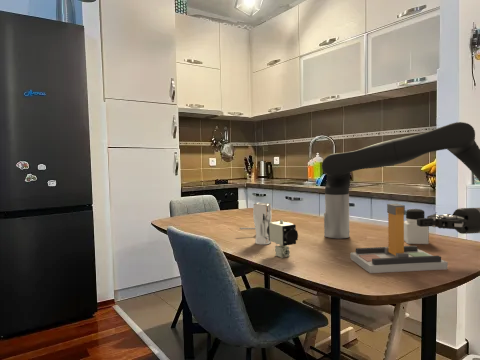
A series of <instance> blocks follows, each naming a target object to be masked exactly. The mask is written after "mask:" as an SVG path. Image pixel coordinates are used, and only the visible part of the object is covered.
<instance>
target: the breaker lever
mask: <svg viewBox="0 0 480 360" xmlns="http://www.w3.org/2000/svg"><path fill="white" fill-rule="evenodd" d="M386 209H387V210H386V212H387V213H388V214H387V215H388V218H387V219H388V222H387V223H388V224H387V225H388V227H387V228H388V229H387V231H388V237H387V239H388V246H387V247H388V250H389V252H390V253H391V254H393V255H395V256H396V253H404V246H405V241H404V221H405V215H406V205H404V204H401V203H387V204H386Z"/></svg>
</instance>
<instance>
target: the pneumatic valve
mask: <svg viewBox="0 0 480 360" xmlns="http://www.w3.org/2000/svg"><path fill="white" fill-rule="evenodd" d="M296 227H297V225H296V224H294V223H292V222H288V221H287V222H286V221H284V220H283V219H280V220H276V221H271V222H268V227H267V234H268V235H269V241H271V243H275V246H274V248H275V249H274V251H275V253H274V255H275V256H276V257H278V258H281V259H283V258H286V257H287V258H289V257H290V252H291V251H290V246H291V245H296V244H297V241H298V238H299V234H298V233H299V232H298V230H297V228H296Z"/></svg>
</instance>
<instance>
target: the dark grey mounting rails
mask: <svg viewBox="0 0 480 360" xmlns="http://www.w3.org/2000/svg"><path fill="white" fill-rule="evenodd" d="M385 247H386V246H382V247H381V246H379V247H378V246H377V247H356V248H355V252H356V253H357V254H367V253H385ZM418 249H419V247H418V246H417V245H404V252H410V251H418ZM441 259H442V256H440V255H433V256H418V257H397V258H376V259H372V264H373V265H388V264H408V263H429V262H441Z"/></svg>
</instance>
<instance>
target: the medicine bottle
mask: <svg viewBox="0 0 480 360" xmlns="http://www.w3.org/2000/svg"><path fill="white" fill-rule="evenodd" d="M418 218H426V217H425V210H423V209H421V208H419V209H418V208H409V209H406V210H405V220H404V243H406V244H407V245H429V244H430V241H429V240H430V238H429V237H430V235H429V230H430V229H429V228H430V226H427V227H420V226H417V219H418Z"/></svg>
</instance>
